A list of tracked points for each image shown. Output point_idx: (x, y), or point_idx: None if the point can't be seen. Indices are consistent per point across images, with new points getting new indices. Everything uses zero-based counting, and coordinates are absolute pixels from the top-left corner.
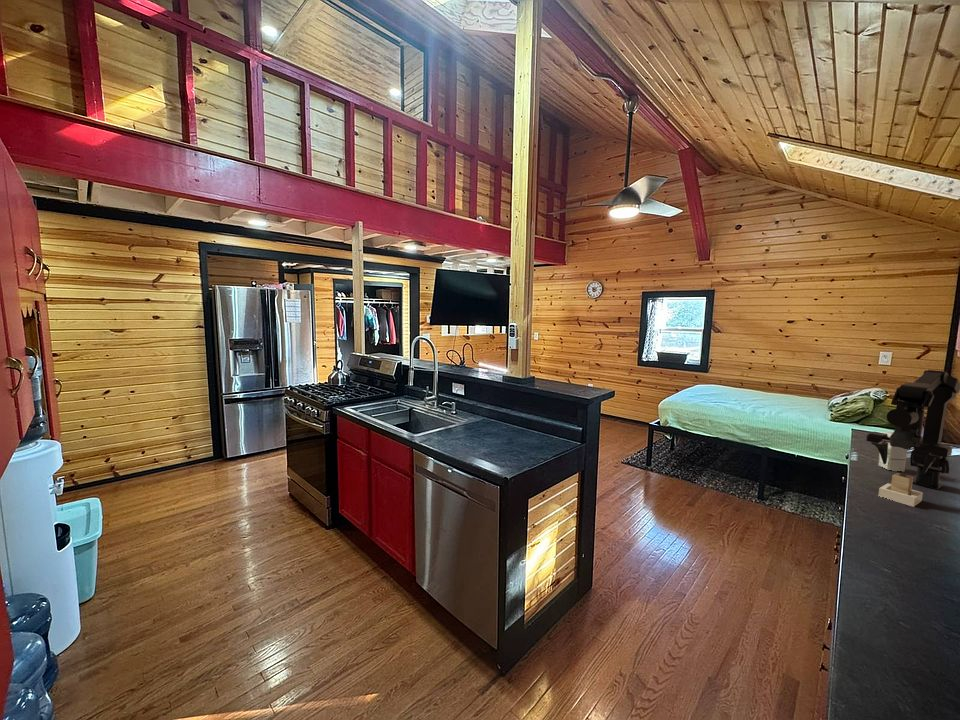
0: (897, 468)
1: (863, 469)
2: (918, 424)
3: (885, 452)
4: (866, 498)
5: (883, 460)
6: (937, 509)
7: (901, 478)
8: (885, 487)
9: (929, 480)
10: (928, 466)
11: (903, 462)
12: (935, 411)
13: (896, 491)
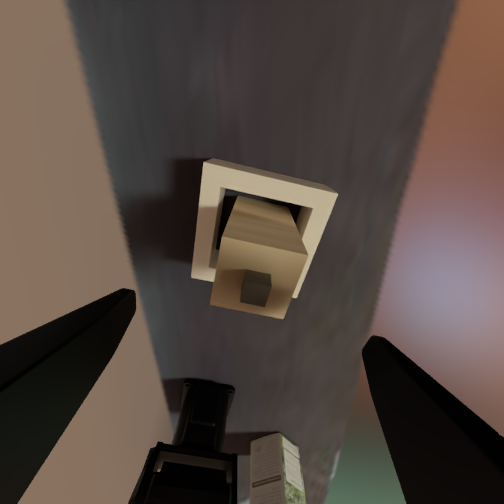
0: (263, 446)
1: (332, 411)
2: None
3: (462, 491)
4: (378, 100)
5: (405, 361)
6: (151, 203)
7: (261, 240)
8: (310, 229)
9: (195, 402)
10: (18, 337)
11: (254, 473)
12: None
13: (271, 213)
